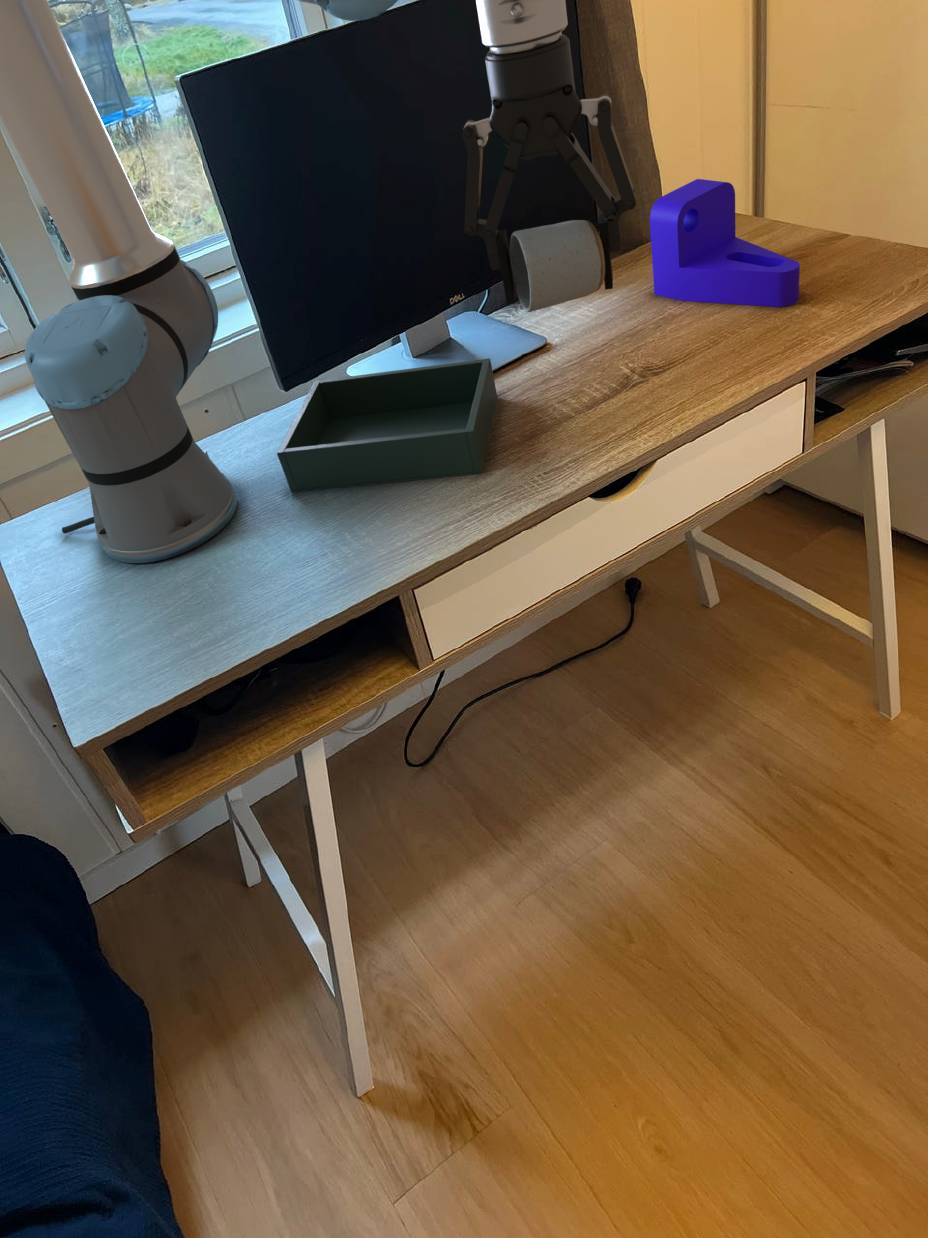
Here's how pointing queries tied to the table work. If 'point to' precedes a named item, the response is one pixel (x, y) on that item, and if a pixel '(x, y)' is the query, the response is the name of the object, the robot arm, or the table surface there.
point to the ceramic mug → (556, 263)
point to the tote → (391, 427)
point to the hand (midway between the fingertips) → (559, 290)
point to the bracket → (714, 252)
